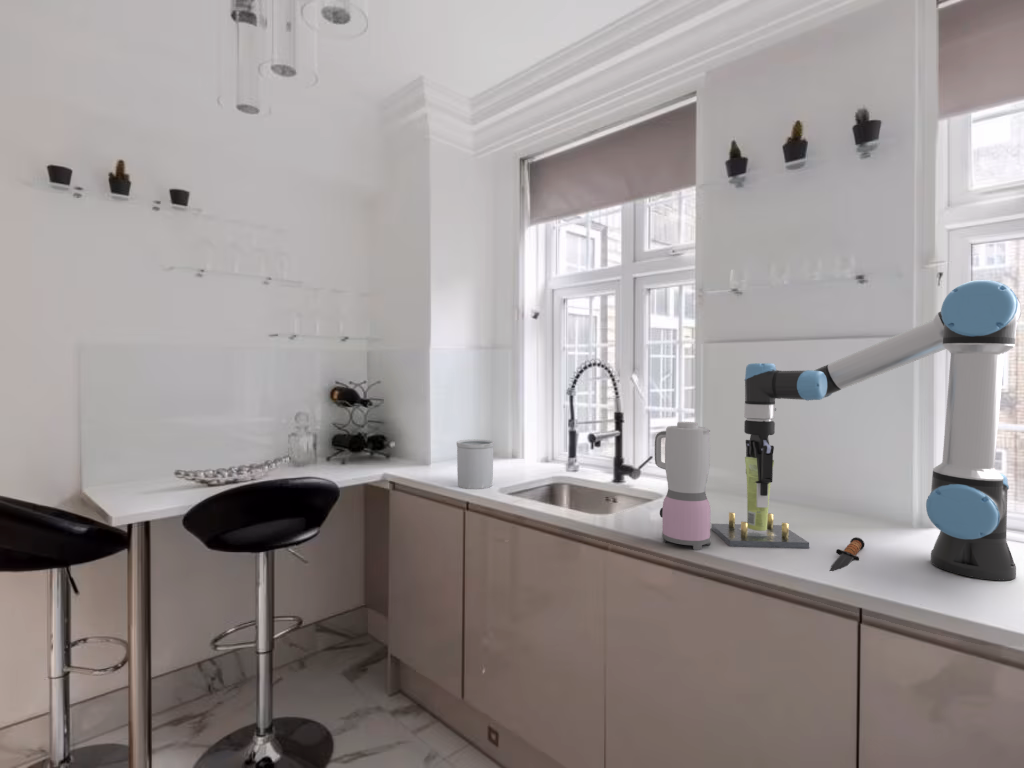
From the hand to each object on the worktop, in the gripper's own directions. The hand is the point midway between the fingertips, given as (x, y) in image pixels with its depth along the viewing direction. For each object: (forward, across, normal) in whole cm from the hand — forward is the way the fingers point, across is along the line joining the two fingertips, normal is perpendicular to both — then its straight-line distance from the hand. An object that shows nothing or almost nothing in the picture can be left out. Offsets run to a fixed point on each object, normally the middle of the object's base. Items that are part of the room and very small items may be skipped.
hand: (758, 504), depth 148 cm
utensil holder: (+9, +61, +86) cm, 106 cm away
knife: (+10, -16, -15) cm, 24 cm away
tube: (+7, 0, 0) cm, 7 cm away
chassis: (+9, 0, 0) cm, 9 cm away
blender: (+9, -5, +22) cm, 24 cm away
